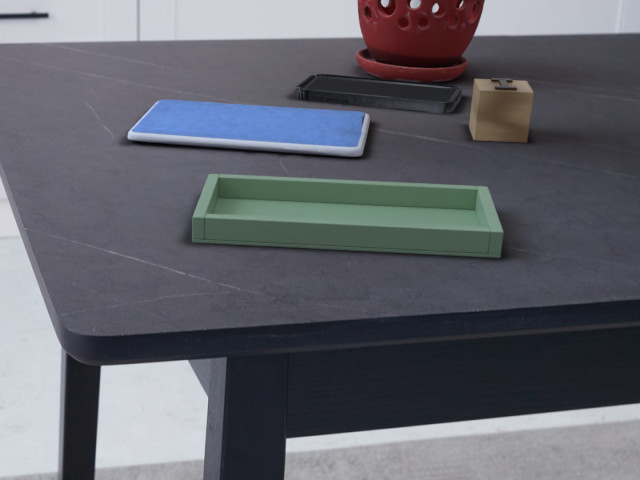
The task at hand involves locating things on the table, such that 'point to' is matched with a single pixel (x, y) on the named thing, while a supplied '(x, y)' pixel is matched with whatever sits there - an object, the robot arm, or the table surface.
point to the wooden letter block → (501, 110)
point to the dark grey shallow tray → (379, 93)
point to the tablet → (254, 128)
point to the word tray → (348, 215)
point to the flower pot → (417, 38)
